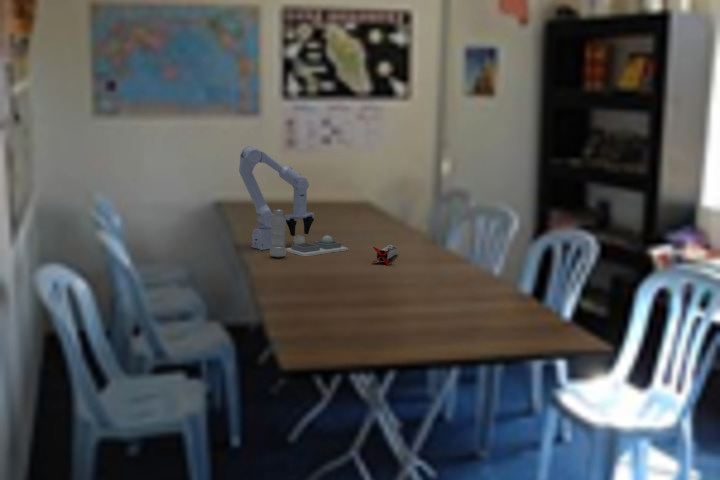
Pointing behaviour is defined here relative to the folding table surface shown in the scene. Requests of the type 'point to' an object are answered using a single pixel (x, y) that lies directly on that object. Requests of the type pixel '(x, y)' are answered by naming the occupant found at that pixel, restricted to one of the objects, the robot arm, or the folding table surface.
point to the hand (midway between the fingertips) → (299, 234)
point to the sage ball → (327, 240)
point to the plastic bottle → (278, 234)
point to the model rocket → (385, 253)
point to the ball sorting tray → (315, 248)
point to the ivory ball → (299, 239)
